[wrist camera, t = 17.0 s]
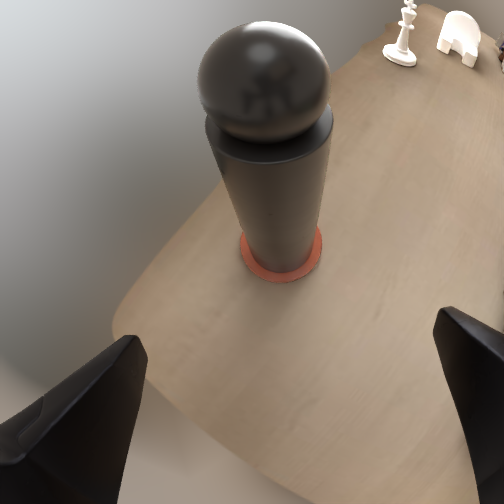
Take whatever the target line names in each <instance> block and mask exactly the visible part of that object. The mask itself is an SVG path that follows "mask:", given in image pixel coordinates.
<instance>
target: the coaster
mask: <svg viewBox="0 0 504 504" xmlns="http://www.w3.org/2000/svg"><path fill="white" fill-rule="evenodd" d="M240 246H241V253H242V256H243V259H244V261H245V263H246V264H247V266H248V267H249V269H250V270H251V271H252V272H253V273H254V274H256V275H257V276H259V277H260V278H262V279H264V280H267V281H270V282H275V283H287V282H292V281H295V280H298V279H300V278H302V277H303V276H305V275H306V274H308V273H309V272H310V271H311V270H312V269H313V267H314V266H315V265H316V263H317V261H318V259H319V257H320V253H321V248H322V239H321V234H320V231H319V228H318V226H317V227H316V232H315V237H314V242H313V247H312V251H311V254H310V256H309V258H308V259H307V261H306V262H305V263H304V264H303V265H302V266H300V267H299V268H297V269H295V270H293V271H290V272H286V273H276V272H272V271H269V270H267V269H265V268H263V267H261V266H260V265H259V264H258V263H257V262H256V261H255V259H254V258H253V256H252V253H251V251H250V248H249V246H248V243H247V240H246V238H245V235H244V233H243V232H242V236H241V242H240Z"/></svg>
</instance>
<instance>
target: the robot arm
mask: <svg viewBox="0 0 504 504" xmlns="http://www.w3.org/2000/svg"><path fill="white" fill-rule="evenodd" d="M433 337H434V341H435V344H436V347H437V350H438V354H439V357H440V361H441V364H442V368H443V371H444V375H445V378H446V381H447V384H448V386H449V389H450V392H451V394H452V397H453V400H454V403H455V406H456V409H457V412H458V415H459V418H460V421H461V424H462V428H463V431H464V434H465V438H466V441H467V445H468V449H469V453H470V457H471V461H472V465H473V469H474V474H475V479H476V484H477V490H478V496H479V502H480V504H504V334H502V333H500V332H498V331H496V330H495V329H493V328H491V327H489V326H487V325H486V324H484V323H482V322H480V321H478V320H476V319H475V318H473V317H471V316H469V315H467V314H465V313H464V312H462V311H460V310H458V309H456V308H454V307H452V306H449V307H444V308H441V309H440V310H439V311H438V314H437V318H436V321H435V325H434V328H433ZM147 363H148V357H147V354H146V351H145V349H144V347H143V345H142V343H141V341H140V339H139V337H138V336H136V335H124V336H123V337H122V338H120V339H119V340H117V341H116V342H115V343H113V344H112V345H111V346H109V347H108V348H107V349H105V350H104V351H102V352H101V353H100V354H99V355H97V356H96V357H94V358H93V359H92V360H90V361H89V362H88V363H86V364H85V365H84V366H82V367H81V368H80V369H78V370H77V371H75V372H74V373H73V374H71V375H70V376H69V377H67V378H66V379H65V380H63V381H62V382H61V383H59V384H58V385H56V386H55V387H54V388H52V389H51V390H50V391H48V392H47V393H46V394H44V396H42V397H40V398H39V399H38V400H36V401H35V402H34V403H32V404H31V405H29V406H28V407H27V408H25V409H24V410H22V411H21V412H19V413H18V414H16V415H15V416H13V417H12V418H10V419H8V420H7V421H5V422H3V423H2V424H0V504H117V500H118V495H119V491H120V486H121V481H122V476H123V472H124V467H125V463H126V458H127V454H128V450H129V446H130V442H131V438H132V434H133V430H134V426H135V422H136V418H137V414H138V411H139V407H140V403H141V398H142V391H143V386H144V379H145V374H146V368H147Z"/></svg>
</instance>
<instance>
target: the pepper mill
mask: <svg viewBox="0 0 504 504" xmlns="http://www.w3.org/2000/svg"><path fill="white" fill-rule="evenodd" d="M197 86H198V94H199V98H200V101H201V104H202V106H203V108H204V110H205V112H206V113H207V117H206V121H205V131H206V135H207V138H208V141H209V143H210V146H211V148H212V151H213V154H214V156H215V159H216V161H217V164H218V167H219V170H220V172H221V175H222V178H223V180H224V183H225V185H226V188H227V191H228V193H229V196H230V198H231V201H232V204H233V206H234V209H235V212H236V214H237V217H238V219H239V222H240V225H241V227H242V230H243V233H244V235H245V238H246V240H247V243H248V246H249V248H250V251H251V253H252V256H253V258H254V259H255V261H256V262H257V263H258V264H259V265H260V266H261V267H263V268H265V269H267V270H269V271H272V272H276V273H286V272H290V271H293V270H295V269H297V268H299V267H300V266H302V265H303V264H304V263H305V262H306V261H307V259H308V258H309V256H310V254H311V251H312V247H313V242H314V237H315V232H316V227H317V222H318V217H319V211H320V206H321V200H322V195H323V189H324V183H325V177H326V171H327V165H328V158H329V152H330V145H331V138H332V131H333V122H334V120H333V114H332V110H331V108H330V106H329V104H328V101H329V98H330V93H331V75H330V70H329V66H328V64H327V61H326V59H325V57H324V55H323V54H322V52H321V50H320V49H319V48H318V46H317V45H316V44H315V43H314V42H313V41H312V40H311V39H310V38H309V37H307V36H306V35H305V34H303V33H302V32H300V31H298V30H296V29H294V28H292V27H290V26H287V25H284V24H280V23H274V22H252V23H247V24H244V25H240V26H237V27H235V28H233V29H231V30H229V31H227V32H226V33H224V34H222V35H221V36H220V37H219V38H218V39H216V41H214V42H213V44H211V46H210V47H209V49H208V50H207V51H206V53H205V55H204V57H203V59H202V61H201V63H200V67H199V70H198V77H197Z"/></svg>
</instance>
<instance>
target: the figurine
mask: <svg viewBox="0 0 504 504" xmlns="http://www.w3.org/2000/svg"><path fill="white" fill-rule="evenodd" d="M495 45H496V46H497V47H499V51H500V52H501V55H500V56H499V59H500V60H501V61H502V65H501V67H502V72H503V73H504V34H503V33H501V34H500V36H499V37H498V39H497V41H496V43H495Z"/></svg>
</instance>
